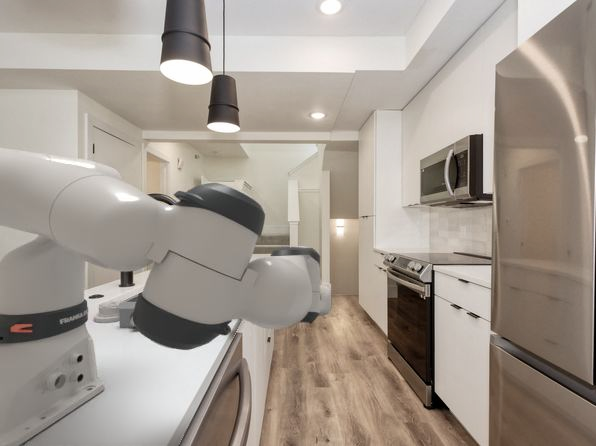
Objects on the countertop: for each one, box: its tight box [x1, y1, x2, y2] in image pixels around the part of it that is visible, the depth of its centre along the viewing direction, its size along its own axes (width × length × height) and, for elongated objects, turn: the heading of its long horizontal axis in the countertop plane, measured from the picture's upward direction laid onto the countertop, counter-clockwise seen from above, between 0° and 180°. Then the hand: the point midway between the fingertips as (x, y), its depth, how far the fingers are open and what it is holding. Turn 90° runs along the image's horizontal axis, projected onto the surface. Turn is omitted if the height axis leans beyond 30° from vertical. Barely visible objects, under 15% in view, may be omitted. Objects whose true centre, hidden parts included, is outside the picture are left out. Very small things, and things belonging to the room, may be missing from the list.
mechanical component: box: [93, 300, 124, 323], centre depth 94 cm, size 10×4×10 cm
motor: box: [119, 294, 138, 329], centre depth 88 cm, size 14×11×6 cm
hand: (218, 301), depth 86 cm, fingers open, 8 cm apart
